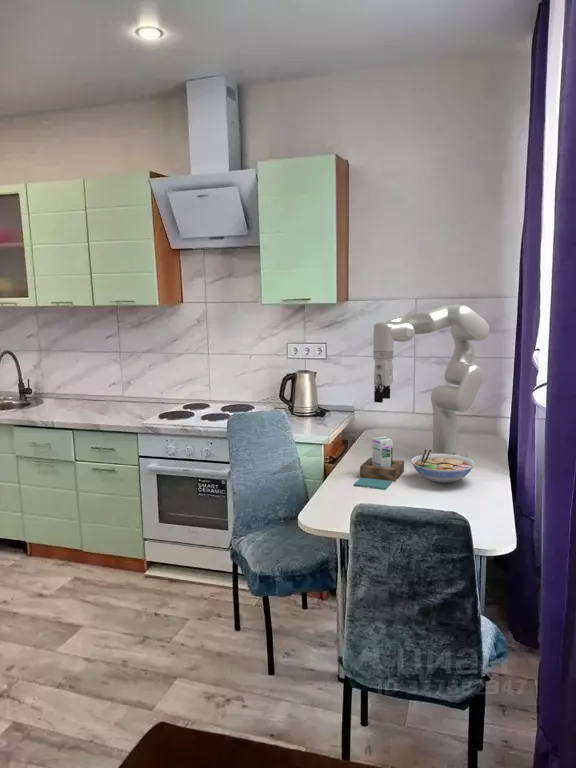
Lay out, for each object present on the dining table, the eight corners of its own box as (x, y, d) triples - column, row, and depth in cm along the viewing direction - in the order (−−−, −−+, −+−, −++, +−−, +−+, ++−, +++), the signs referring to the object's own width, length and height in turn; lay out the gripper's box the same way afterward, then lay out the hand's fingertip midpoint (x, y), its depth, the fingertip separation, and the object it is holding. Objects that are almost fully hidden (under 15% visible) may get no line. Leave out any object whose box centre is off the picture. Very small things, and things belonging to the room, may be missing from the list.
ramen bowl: (472, 494, 208) (472, 471, 206) (405, 487, 216) (405, 465, 214) (476, 473, 231) (476, 453, 230) (415, 468, 239) (416, 448, 238)
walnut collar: (403, 471, 235) (404, 460, 234) (395, 481, 223) (395, 470, 222) (370, 468, 240) (370, 457, 240) (360, 477, 228) (360, 466, 228)
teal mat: (392, 482, 222) (392, 480, 222) (385, 489, 214) (385, 488, 214) (361, 478, 227) (361, 477, 227) (353, 485, 219) (353, 484, 219)
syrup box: (380, 477, 228) (381, 440, 226) (371, 474, 233) (371, 437, 231) (393, 475, 230) (393, 438, 228) (383, 471, 235) (384, 435, 233)
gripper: (386, 357, 217) (385, 404, 219) (399, 354, 232) (397, 397, 234) (366, 357, 220) (365, 403, 222) (380, 353, 235) (379, 396, 238)
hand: (382, 400), depth 228 cm, fingers open, 9 cm apart
